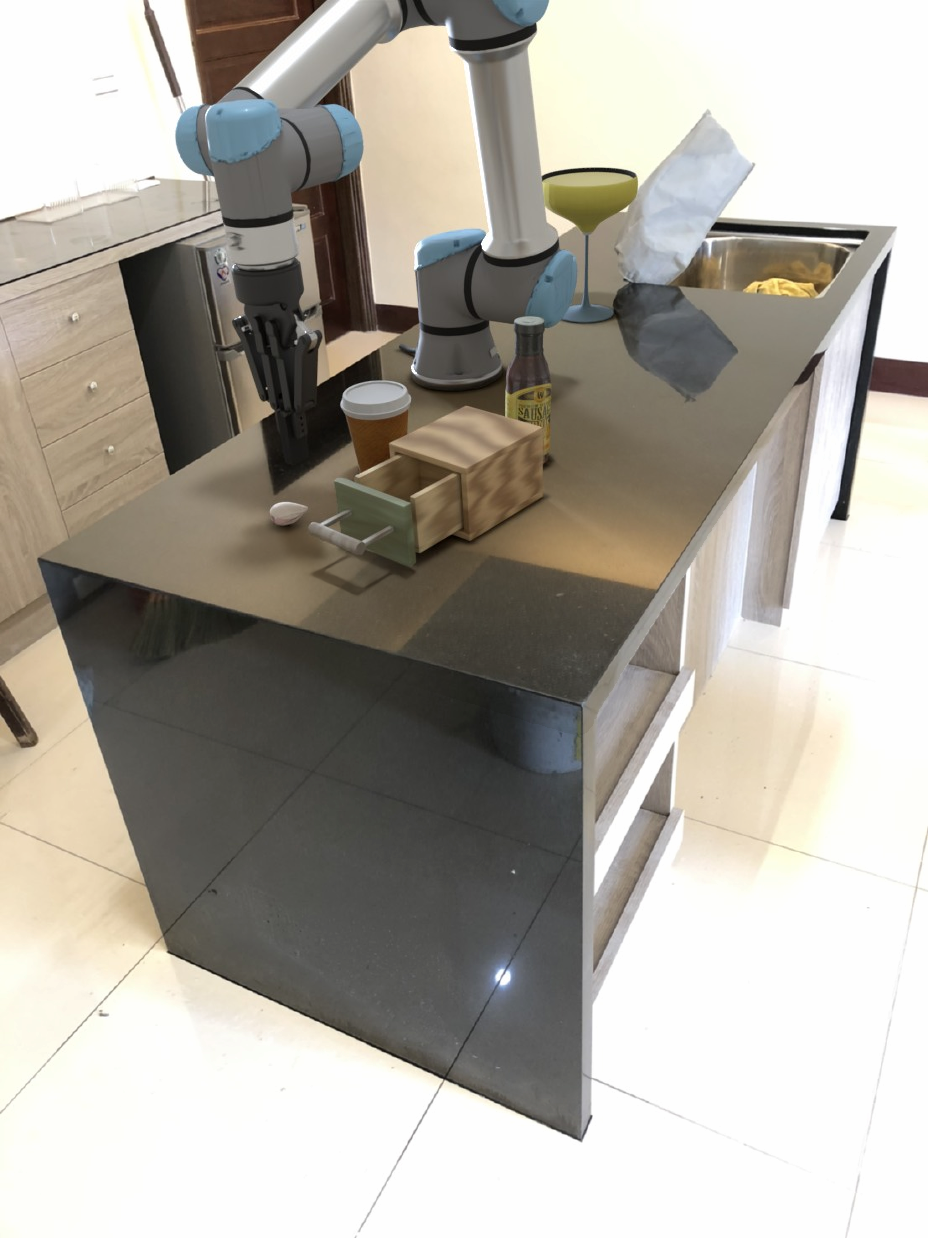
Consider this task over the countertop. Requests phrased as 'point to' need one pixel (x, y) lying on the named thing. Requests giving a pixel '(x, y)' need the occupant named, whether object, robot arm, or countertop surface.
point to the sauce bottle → (529, 379)
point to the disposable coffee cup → (375, 419)
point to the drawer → (395, 509)
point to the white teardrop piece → (287, 513)
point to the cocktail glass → (588, 214)
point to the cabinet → (482, 463)
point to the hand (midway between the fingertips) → (297, 459)
